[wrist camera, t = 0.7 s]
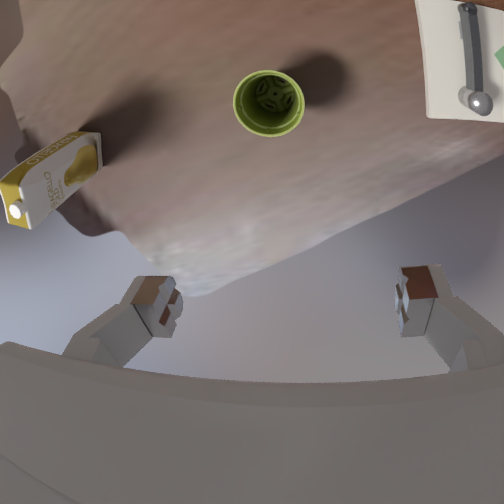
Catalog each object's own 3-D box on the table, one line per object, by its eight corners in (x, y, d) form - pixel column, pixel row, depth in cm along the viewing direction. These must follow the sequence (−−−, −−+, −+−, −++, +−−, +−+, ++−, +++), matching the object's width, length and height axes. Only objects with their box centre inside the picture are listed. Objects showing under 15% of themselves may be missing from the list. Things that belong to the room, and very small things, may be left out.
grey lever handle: (476, 107, 38) (492, 117, 33) (458, 106, 38) (473, 115, 34) (468, 5, 28) (485, 4, 23) (448, 2, 29) (464, -1, 24)
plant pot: (291, 130, 49) (288, 147, 42) (237, 109, 48) (223, 122, 41) (315, 79, 43) (316, 87, 36) (257, 56, 42) (247, 59, 35)
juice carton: (107, 171, 59) (31, 240, 40) (77, 167, 59) (1, 231, 40) (104, 127, 53) (17, 186, 34) (73, 126, 53) (-13, 181, 35)
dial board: (413, -3, 31) (417, -4, 30) (507, 13, 26) (512, 13, 25) (426, 115, 42) (429, 118, 41) (512, 121, 38) (517, 124, 37)
